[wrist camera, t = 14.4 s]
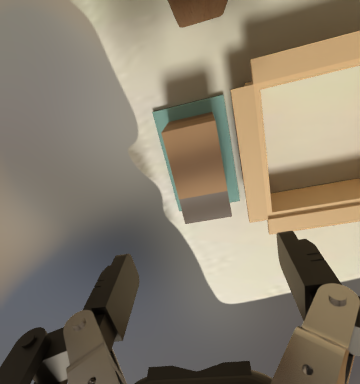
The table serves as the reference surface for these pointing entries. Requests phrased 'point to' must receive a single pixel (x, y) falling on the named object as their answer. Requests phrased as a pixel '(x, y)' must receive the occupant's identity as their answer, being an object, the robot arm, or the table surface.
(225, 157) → the mat
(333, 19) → the table surface
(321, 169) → the table surface
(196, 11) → the wooden block
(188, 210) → the box
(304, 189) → the carton
